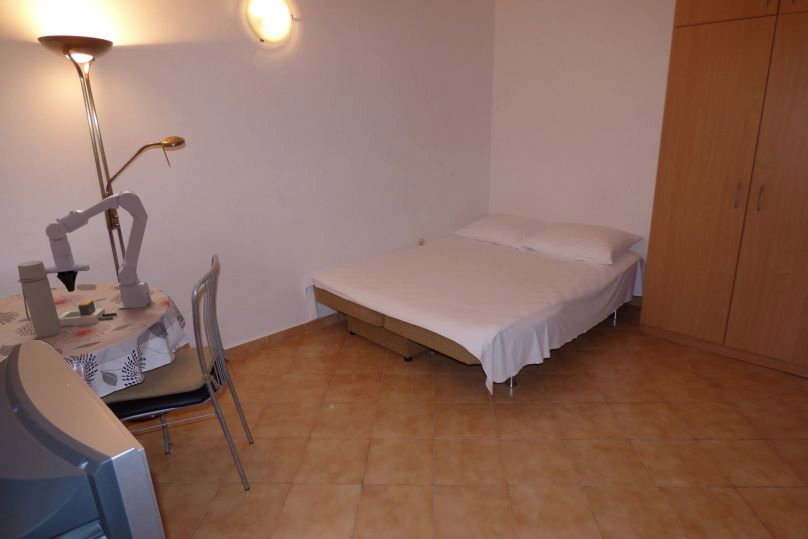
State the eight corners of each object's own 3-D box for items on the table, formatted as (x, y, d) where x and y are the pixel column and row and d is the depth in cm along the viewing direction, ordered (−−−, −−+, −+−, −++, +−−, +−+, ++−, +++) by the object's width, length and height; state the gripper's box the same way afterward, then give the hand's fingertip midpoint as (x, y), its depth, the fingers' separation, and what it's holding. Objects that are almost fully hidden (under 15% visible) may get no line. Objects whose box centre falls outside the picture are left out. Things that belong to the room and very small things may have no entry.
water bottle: (67, 328, 168) (49, 259, 161) (52, 338, 161) (33, 266, 153) (40, 329, 168) (21, 260, 161) (24, 339, 161) (3, 267, 153)
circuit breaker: (105, 314, 180) (104, 307, 179) (96, 323, 172) (94, 316, 172) (67, 317, 178) (65, 311, 177) (56, 326, 171) (54, 319, 170)
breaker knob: (95, 309, 178) (93, 299, 177) (89, 314, 173) (87, 304, 172) (86, 310, 177) (84, 300, 176) (80, 315, 173) (78, 304, 172)
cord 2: (116, 315, 179) (116, 312, 179) (115, 316, 178) (115, 313, 178) (102, 316, 179) (101, 313, 178) (101, 317, 178) (100, 314, 177)
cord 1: (113, 318, 176) (112, 315, 176) (112, 319, 175) (111, 316, 175) (98, 319, 175) (97, 317, 175) (97, 320, 174) (96, 318, 174)
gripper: (89, 250, 178) (97, 285, 182) (46, 254, 176) (55, 289, 180) (81, 255, 172) (89, 291, 176) (35, 259, 169) (45, 295, 173)
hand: (71, 291), depth 178 cm, fingers closed
